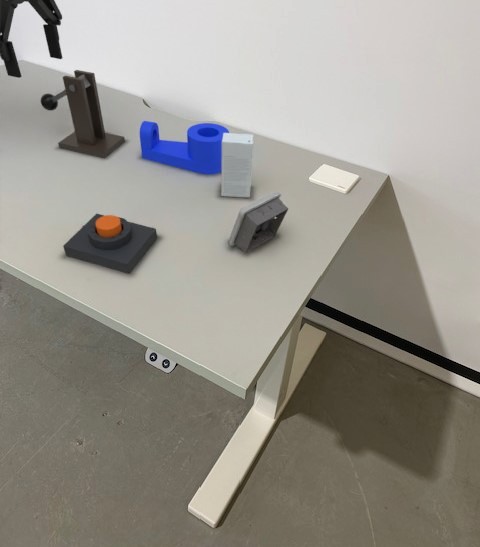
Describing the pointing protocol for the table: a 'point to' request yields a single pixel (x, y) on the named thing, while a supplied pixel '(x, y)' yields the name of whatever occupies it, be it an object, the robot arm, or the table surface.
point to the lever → (57, 97)
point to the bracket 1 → (87, 119)
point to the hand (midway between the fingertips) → (36, 66)
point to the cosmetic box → (236, 164)
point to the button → (108, 226)
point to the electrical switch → (258, 222)
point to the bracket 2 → (185, 147)
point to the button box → (111, 245)
